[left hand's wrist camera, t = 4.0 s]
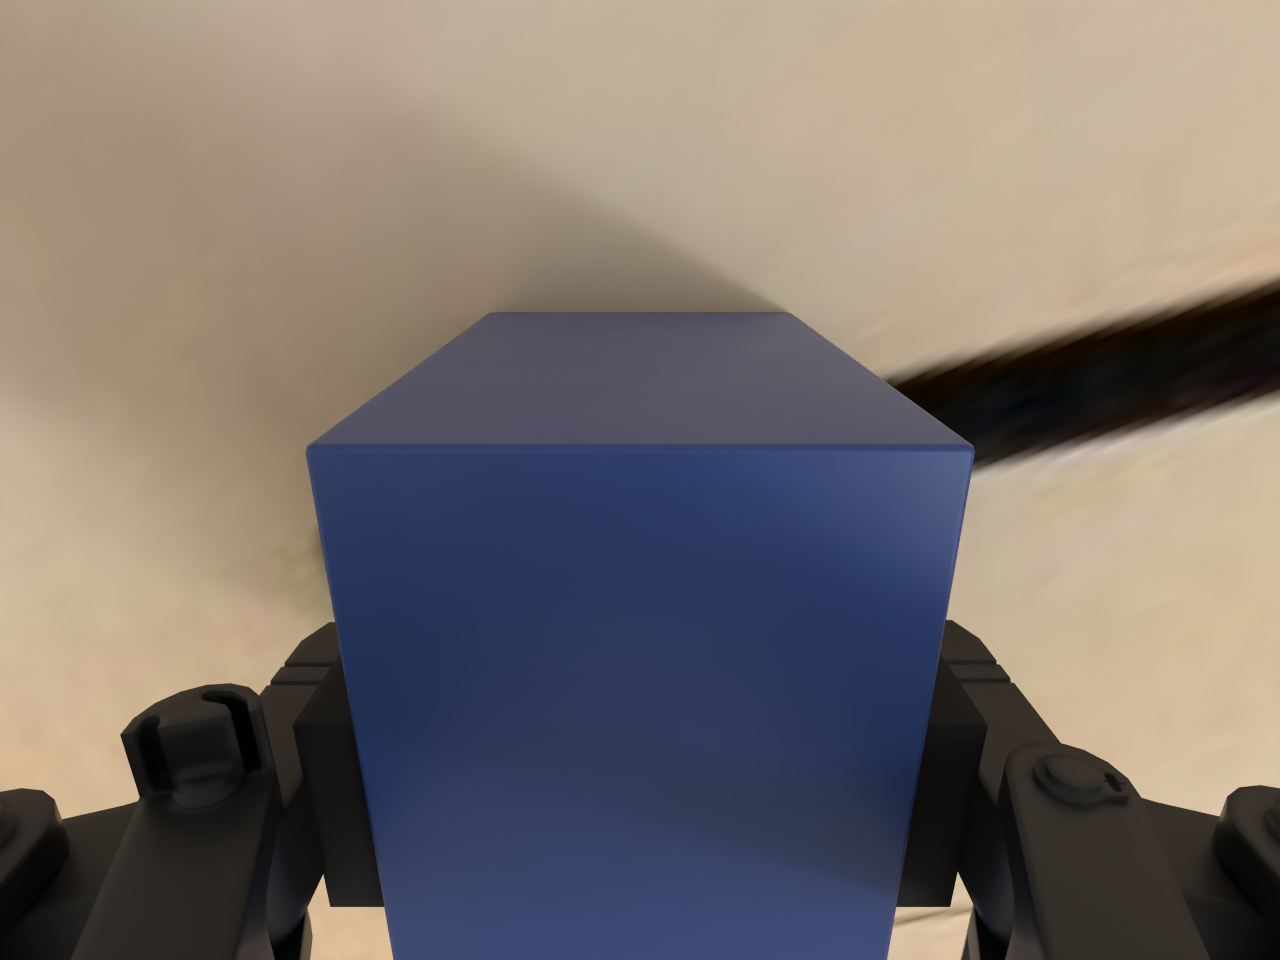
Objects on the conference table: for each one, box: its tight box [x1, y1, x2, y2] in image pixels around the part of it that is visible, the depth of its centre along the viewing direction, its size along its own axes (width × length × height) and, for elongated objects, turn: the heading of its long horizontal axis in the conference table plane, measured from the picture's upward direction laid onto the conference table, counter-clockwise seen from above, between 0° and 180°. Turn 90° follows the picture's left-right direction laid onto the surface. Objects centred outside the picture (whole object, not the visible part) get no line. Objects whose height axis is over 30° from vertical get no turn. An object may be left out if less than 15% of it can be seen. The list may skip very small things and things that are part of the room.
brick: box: [306, 313, 975, 960], centre depth 12 cm, size 9×6×8 cm, turn 0°
